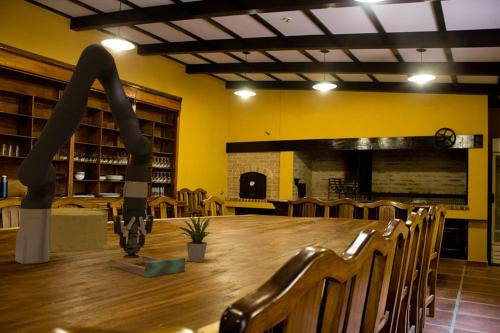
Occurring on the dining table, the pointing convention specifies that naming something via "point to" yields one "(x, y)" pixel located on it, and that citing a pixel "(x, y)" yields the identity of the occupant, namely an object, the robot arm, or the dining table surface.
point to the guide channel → (151, 266)
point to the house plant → (196, 240)
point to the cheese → (78, 229)
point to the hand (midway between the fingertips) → (132, 247)
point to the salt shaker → (132, 243)
